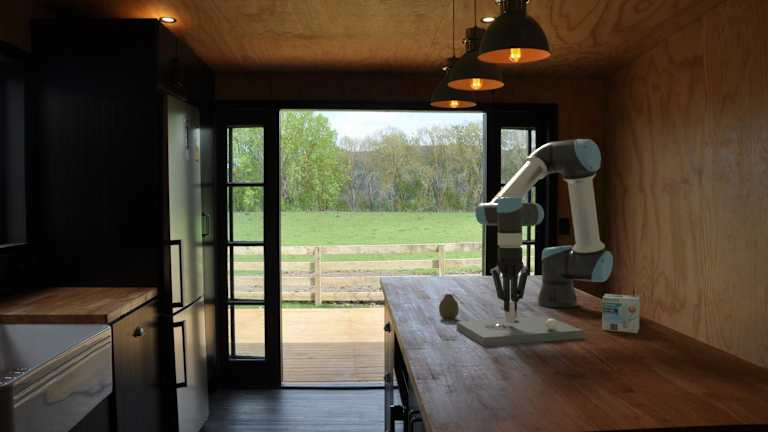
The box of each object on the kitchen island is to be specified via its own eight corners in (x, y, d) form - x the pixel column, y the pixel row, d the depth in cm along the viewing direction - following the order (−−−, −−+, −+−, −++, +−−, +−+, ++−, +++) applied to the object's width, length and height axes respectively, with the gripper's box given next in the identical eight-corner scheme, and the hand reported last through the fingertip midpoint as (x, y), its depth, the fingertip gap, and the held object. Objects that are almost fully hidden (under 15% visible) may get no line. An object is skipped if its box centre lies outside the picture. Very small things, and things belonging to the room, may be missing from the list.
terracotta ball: (513, 318, 190) (513, 306, 190) (519, 320, 186) (519, 308, 186) (502, 319, 189) (502, 307, 189) (508, 321, 185) (508, 309, 185)
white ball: (553, 328, 174) (553, 317, 174) (559, 331, 171) (559, 319, 170) (543, 329, 173) (543, 318, 173) (549, 332, 170) (549, 320, 170)
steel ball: (498, 320, 179) (489, 325, 178) (504, 323, 176) (494, 328, 175) (502, 330, 179) (493, 335, 179) (507, 333, 176) (498, 338, 175)
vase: (452, 322, 197) (452, 296, 197) (435, 319, 201) (435, 295, 201) (462, 318, 203) (462, 294, 202) (445, 316, 207) (445, 292, 207)
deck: (546, 323, 193) (546, 315, 193) (582, 338, 172) (582, 330, 172) (456, 329, 186) (456, 321, 186) (483, 346, 164) (483, 337, 164)
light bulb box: (601, 330, 182) (601, 296, 182) (604, 326, 188) (604, 293, 188) (638, 333, 177) (638, 298, 177) (639, 329, 183) (639, 295, 183)
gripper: (523, 244, 182) (524, 318, 183) (485, 246, 179) (486, 320, 180) (535, 246, 175) (535, 323, 176) (495, 248, 172) (496, 325, 173)
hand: (510, 321), depth 178 cm, fingers closed
